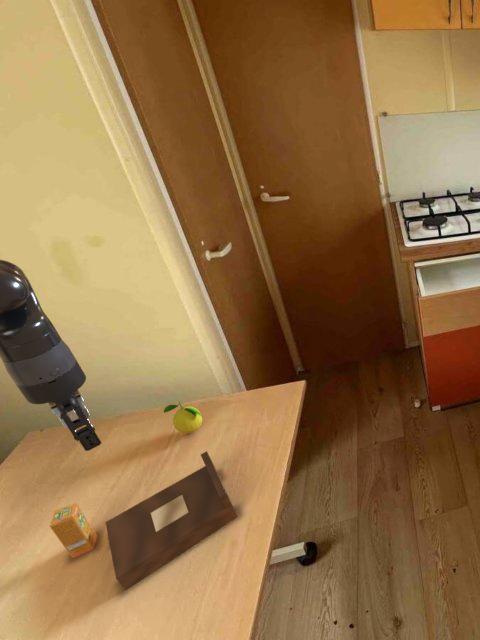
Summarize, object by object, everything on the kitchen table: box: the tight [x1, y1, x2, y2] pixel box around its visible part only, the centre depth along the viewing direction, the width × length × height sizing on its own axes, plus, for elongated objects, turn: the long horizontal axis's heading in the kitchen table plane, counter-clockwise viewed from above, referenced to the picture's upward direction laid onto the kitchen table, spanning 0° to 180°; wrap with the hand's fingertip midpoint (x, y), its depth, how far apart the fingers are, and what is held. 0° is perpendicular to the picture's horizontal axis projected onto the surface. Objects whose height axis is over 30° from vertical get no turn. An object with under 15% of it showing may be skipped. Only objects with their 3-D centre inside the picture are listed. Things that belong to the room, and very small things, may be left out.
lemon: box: [163, 400, 203, 434], centre depth 103 cm, size 7×6×10 cm
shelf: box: [105, 451, 239, 591], centre depth 83 cm, size 18×14×8 cm
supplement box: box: [49, 502, 98, 559], centre depth 79 cm, size 3×4×10 cm
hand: (87, 435), depth 79 cm, fingers open, 8 cm apart
